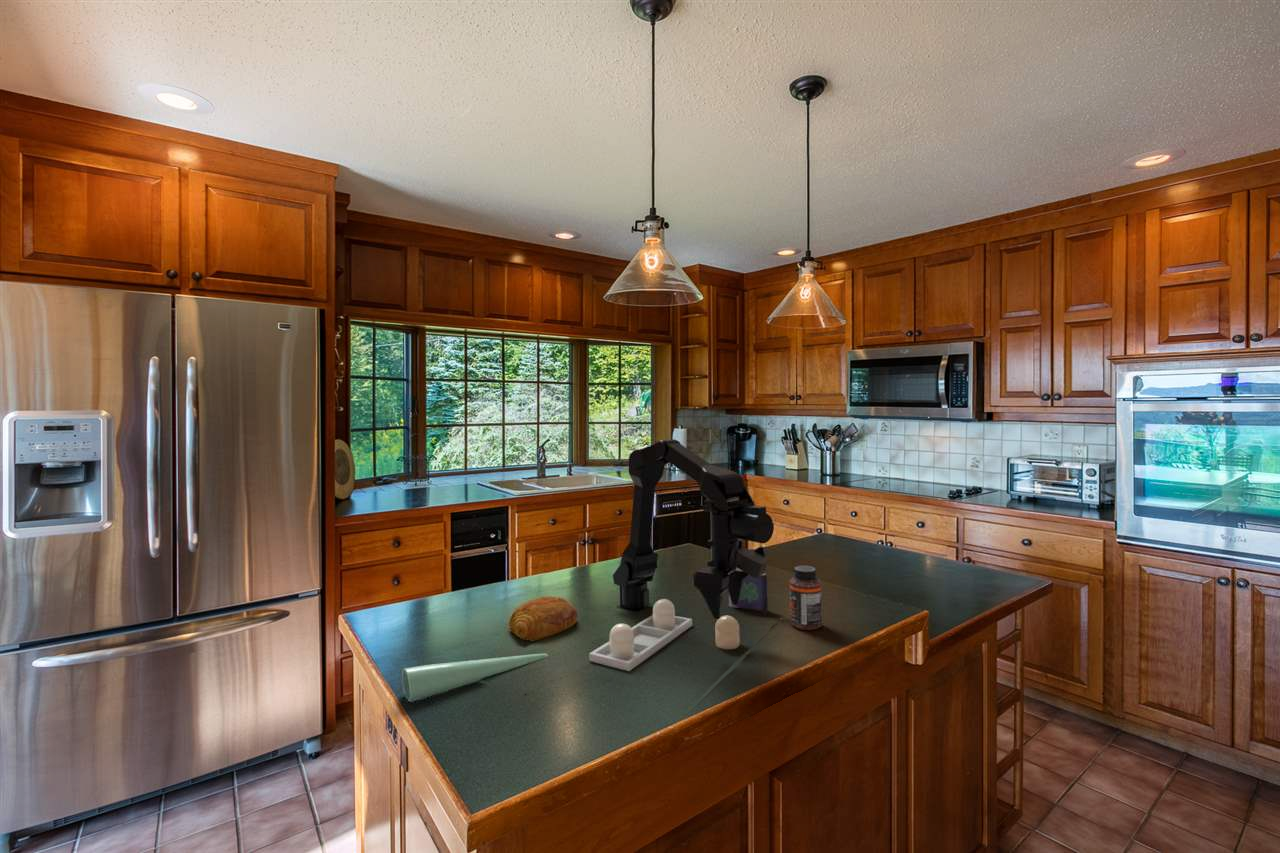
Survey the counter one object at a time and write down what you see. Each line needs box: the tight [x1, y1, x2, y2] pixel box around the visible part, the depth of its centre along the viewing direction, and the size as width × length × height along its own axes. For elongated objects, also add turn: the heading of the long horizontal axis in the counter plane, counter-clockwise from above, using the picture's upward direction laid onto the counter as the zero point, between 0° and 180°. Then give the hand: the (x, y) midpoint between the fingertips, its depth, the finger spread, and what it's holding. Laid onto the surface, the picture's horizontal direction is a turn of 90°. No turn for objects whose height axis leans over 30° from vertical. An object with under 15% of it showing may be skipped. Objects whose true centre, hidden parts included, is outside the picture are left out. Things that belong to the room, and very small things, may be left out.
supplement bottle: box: [789, 565, 823, 631], centre depth 128 cm, size 7×7×13 cm
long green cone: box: [401, 652, 549, 702], centre depth 107 cm, size 5×6×27 cm
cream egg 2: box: [652, 598, 676, 631], centre depth 127 cm, size 5×5×6 cm
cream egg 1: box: [608, 623, 635, 661], centre depth 113 cm, size 5×5×6 cm
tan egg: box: [714, 615, 741, 650], centre depth 118 cm, size 5×5×6 cm
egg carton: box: [588, 614, 693, 672], centre depth 120 cm, size 9×26×2 cm, turn 148°
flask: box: [728, 572, 769, 612], centre depth 140 cm, size 9×3×11 cm, turn 71°
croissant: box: [508, 596, 578, 641], centre depth 131 cm, size 14×16×8 cm
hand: (726, 611), depth 118 cm, fingers open, 9 cm apart
